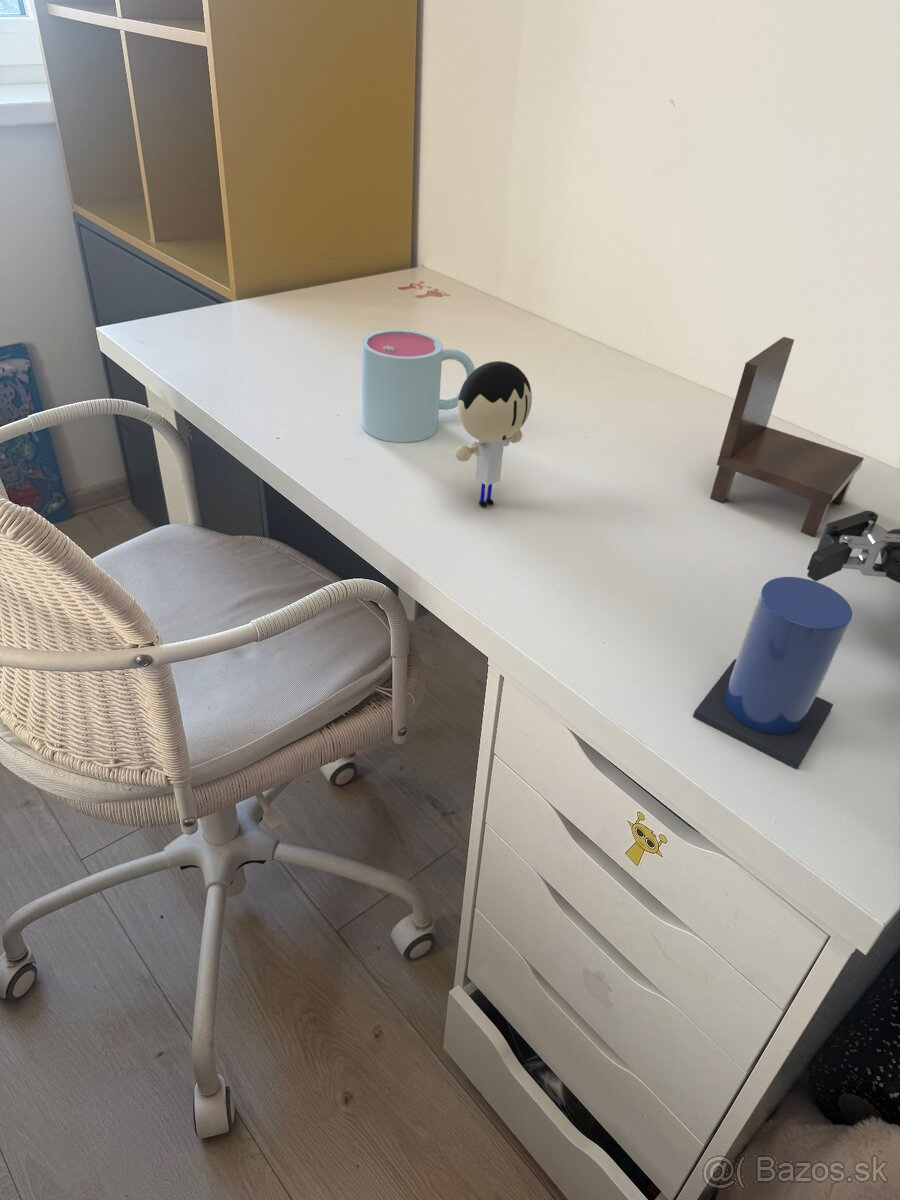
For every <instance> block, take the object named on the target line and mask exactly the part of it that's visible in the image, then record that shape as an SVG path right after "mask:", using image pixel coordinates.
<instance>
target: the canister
mask: <svg viewBox="0 0 900 1200" xmlns="http://www.w3.org/2000/svg"><path fill="white" fill-rule="evenodd" d="M852 618H853V611H852V608H851V606H850V604H849V602H848V601H847V600H846V599H845V597H843V595H841V594H840V593H838V592H837V591H836V590H834V589H832V588H831V587H829V586H827V585H825V584H823V583H821V582H819V581H814V580H812V579H808V578H803V577H797V576H782V577H781V576H780V577H776V578H772V579H771V580H768V581H767V582H766V583H765V584H764V585H763V586H762V588H761V591H760V594H759V597H758V599H757V602H756V603H755V607H754V611H753V613H752V616H751V619H750V621H749V624H748V627H747V629H746V633H745V634H744V635H745V636H744V638H743V640H742V644H741V646H740V649H739V651H738V654H737V657H736V663H735V666H734V668H733V671H732V674H731V677H730V680H729V682H728V685H727V688H726V691H725V694H724V700H725V704H726V706H727V708H728V710H729V711H730V713H731V714H732V715H733V716H734V717H735V718H736V719H737V720H738V721H740V722H741V723H742V724H744V725H746V726H747V727H749V728H751V729H754V730H756V731H759V732H762V733H766V734H771V735H786V734H791V733H794V732H796V731H797V730H799V729H800V728H801V727H802V726H803V725H804V723H805V720H806V718H807V716H808V714H809V712H810V709H811V707H812V705H813V703H814V700H815V698H816V696H817V697H818V694H819V691H820V690H821V687H822V685H823V683H824V681H825V678H826V676H827V674H828V671H829V669H830V667H831V665H832V662H833V660H834V658H835V656H836V654H837V652H838V650H839V647H840V645H841V643H842V640H843V639H844V636H845V634H846V632H847V629H848V627H849V625H850V623H851V620H852Z"/></svg>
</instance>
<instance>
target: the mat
mask: <svg viewBox="0 0 900 1200" xmlns="http://www.w3.org/2000/svg"><path fill="white" fill-rule="evenodd" d="M736 660H737V658H735V659H733V660H732V662H731V663H730V664H729V666H728V667H727V668H726V669H725V670H724V672H723V674H722V675H721V676H720V677H719V679H718V680H717V681H716V683H715V684H714V685H713V686H712V687H711V689H710V690H709V691H708V693H707V694H706V696H705V697H704V698H703V699H702V700H701V702H700V703H699V705H698V706H697V707H696V708H695V710H694V711H693V715H692V717H693V718H695V719H697V720H699V721H700V722H703V723H704V724H706V725H709V726H711V727H712V728H714V729H716V730H719V731H721V732H722V733H725V734H727V735H729V736H730V737H732V738H734V739H737V740H738V741H741V742H742V743H744V744H747V745H748V746H749V747H752V748H754V749H756V750H758V751H760V752H762V753H764V754H766V755H768V756H770V757H771V758H774V759H776V760H778V761H779V762H781V763H784V764H786V765H788V766H790V767H792V768H794V769H795V770H797V769H798V768H799V767H800V765H801V764H802V762H803V760H804V758H805V756H806V755H807V753H808V752H809V749H810V748H811V746H812V744H813V742H814V740H815V739H816V737H817V735H818V734H819V732H820V730H821V728H822V727H823V725H824V723H825V721H826V720H827V718H828V716H829V714H830V712H831V711H832V708H833V707H834V703H831V702H830V701H828V700H825V699H823V698H821V697H819V696H818V695H817V696H816V698H815V700H814V703H813V705H812V707H811V709H810V712H809V714H808V716H807V718H806V720H805V723H804V725H803V726H802V727H801V728H800V729H799V730H797V731H796V732H794V733H791V734H786V735H771V734H766V733H762V732H759V731H756V730H754V729H751V728H749V727H747V726H746V725H744V724H742V723H741V722H740V721H738V720H737V719H736V718H735V717H734V716H733V715H732V714H731V713H730V711H729V710H728V708H727V706H726V704H725V700H724V694H725V691H726V688H727V685H728V682H729V680H730V677H731V674H732V671H733V668H734V666H735V663H736Z"/></svg>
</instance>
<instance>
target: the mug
mask: <svg viewBox="0 0 900 1200" xmlns="http://www.w3.org/2000/svg"><path fill="white" fill-rule="evenodd" d="M443 347H444V345H443V342H442V341H441V340H439V338H437V337H435V336H433V335H431V334H428V333H425V332H421V331H416V330H409V329H384V330H378V331H374V332H371V333H369V334H367V335H365V336H364V337H363V338H362V339H361V428H362V429H363V431H364V432H365V433H366V434H367V435H369V436H371V437H373V438H375V439H378V440H381V441H385V442H390V443H400V444H402V443H415V442H416V443H417V442H421V441H425V440H427V439H429V438H431V437H434V436H435V434H436V433H437V432H438V427H439V412H440V410H444V411H448V410H452V409H455V408H458V398H459V394H460V392H459V393H458V394H457V395H455V396H454V397H452V398H449V399H441V398H440V396H441V384H442V383H441V381H442V379H441V378H442V365H443V364H442V363H443V361H447V360H452V361H456V362H459V363H460V364H461V365H462V367H464V370H465V374H466V379H467V378H468V376H469V375H470V374H471V373H472V372H473V371H474V370H475V369H476V368H475V365H474V363H473V361H472V360H471V358H470V356H468V355H467V354H466V353H465V352H463V351H461V350H458V349H454V348H446V349H443Z"/></svg>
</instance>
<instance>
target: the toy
mask: <svg viewBox="0 0 900 1200" xmlns="http://www.w3.org/2000/svg"><path fill="white" fill-rule="evenodd" d="M531 387H532V386H531V384H530V382H529V379H528V377H527V376H526V374H525V373H524V372H523V371H522V370H521V369H520V368H519V367H517V366H516V365H514V364H513V363H510V362H507V361H501V360H499V361H489V362H486V363H484V364H482V365H480V366H478V367H477V368H475V370H474V371H473V372H472V373H471V374H470V375H469V376H468V378H467V377H466V379H465V380H464V382H463V383H462V386H461V388H460V391H459V393H460V394H459V393H458V394H459V398H458V407H457V411H458V412H457V413H458V418H459V421H460V423H461V425H462V426H463V428H464V430H465V431H466V432H467V433H468V434H469V435H470V436H471V437H472V438H473V439H476V440H478V441H473V443H471V447H469V446H467V445H464V444H463V445H459V446H458V447H457V448H456V449H455V458H456V459H457V460H458V461H459V462H463V463H464V462H468V461H469V460H470V459H471V457H472V455H474V456H476V468H475V480H476V481H477V482H479V483H481V486H480V498H479V501H478V504H479V506H480V507H482V508H486V507H488V505H489V506H491V505H492V506H493V505H494V500H493V499H492V490H493V484H495V483H498V482H500V481H501V472H502V464H503V456H504V455H503V454H504V447H508V446H509V445H510V443H512V444H517V443H519V442H520V441H521V440H522V438H523V432H522V430H521V428H522V427H523V426H524V425H525V424H526V421H527V420H528V417H529V415H530V412H531V410H532V403H533V392H532V388H531ZM486 487H487V493H486ZM485 494H486V499H485Z"/></svg>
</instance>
